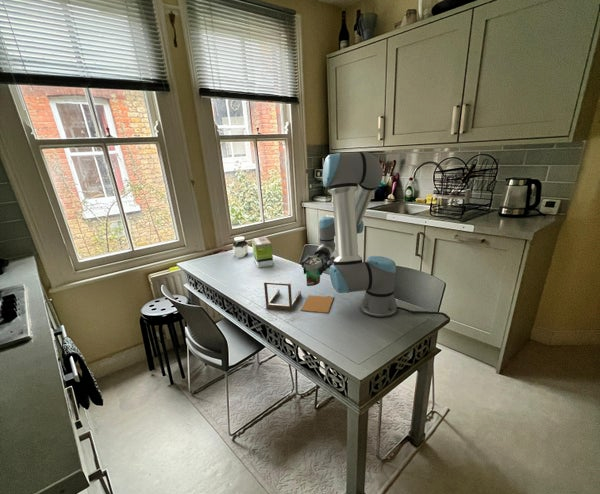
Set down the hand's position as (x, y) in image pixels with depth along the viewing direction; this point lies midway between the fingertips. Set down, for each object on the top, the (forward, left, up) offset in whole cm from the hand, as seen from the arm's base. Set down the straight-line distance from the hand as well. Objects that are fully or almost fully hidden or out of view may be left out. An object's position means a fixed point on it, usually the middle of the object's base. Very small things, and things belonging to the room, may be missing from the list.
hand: (312, 271), depth 133 cm
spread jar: (+66, -67, -18) cm, 96 cm away
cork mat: (-1, -5, -18) cm, 19 cm away
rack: (+15, -5, -18) cm, 24 cm away
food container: (0, -5, -7) cm, 9 cm away
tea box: (+45, -55, -18) cm, 73 cm away
